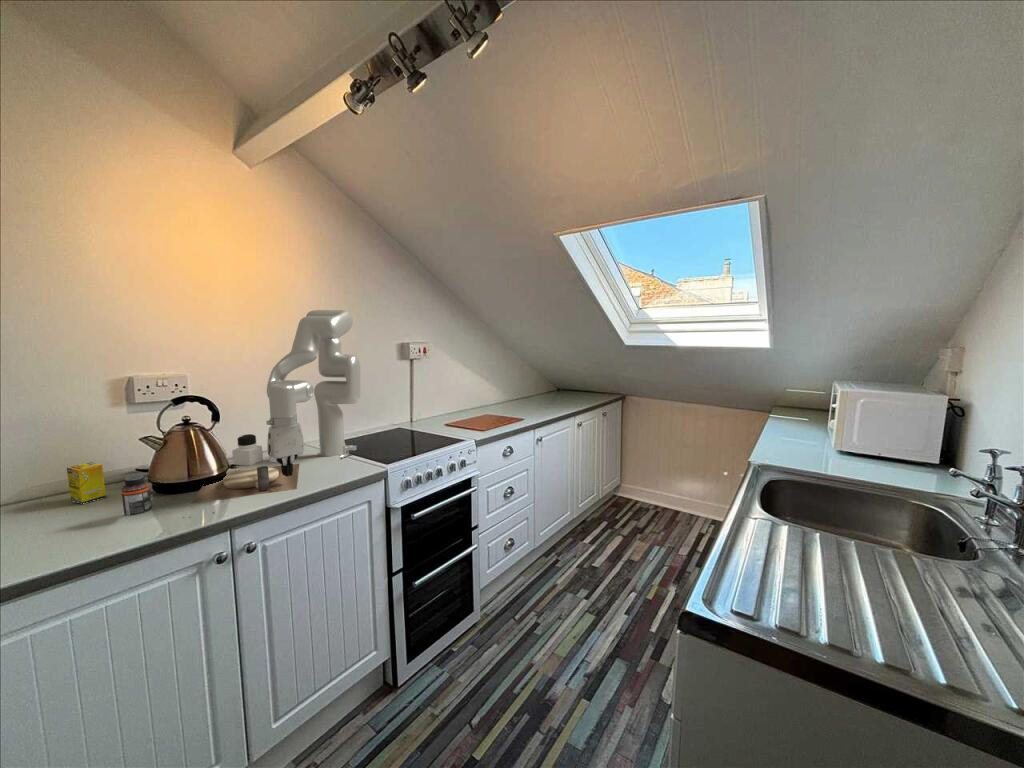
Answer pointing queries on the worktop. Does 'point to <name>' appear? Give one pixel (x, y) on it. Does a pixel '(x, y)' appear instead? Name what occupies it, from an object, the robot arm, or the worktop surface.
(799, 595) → the worktop surface
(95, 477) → the supplement box
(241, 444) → the medicine bottle
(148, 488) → the supplement bottle
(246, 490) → the walnut board
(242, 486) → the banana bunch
